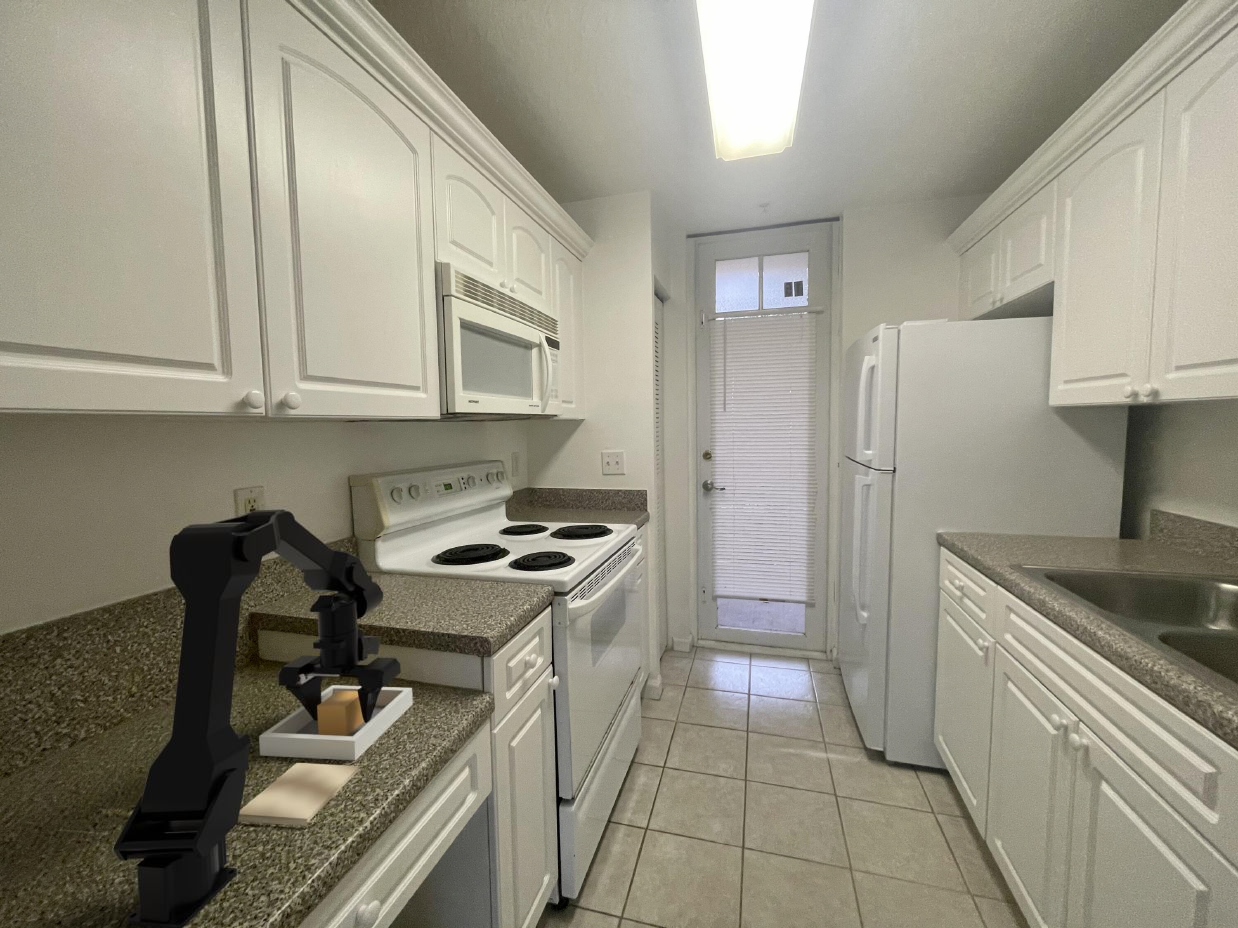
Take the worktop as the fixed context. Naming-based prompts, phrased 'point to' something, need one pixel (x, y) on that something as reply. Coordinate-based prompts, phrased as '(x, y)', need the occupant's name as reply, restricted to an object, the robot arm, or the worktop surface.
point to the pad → (297, 794)
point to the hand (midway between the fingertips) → (342, 720)
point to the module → (339, 714)
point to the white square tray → (304, 740)
